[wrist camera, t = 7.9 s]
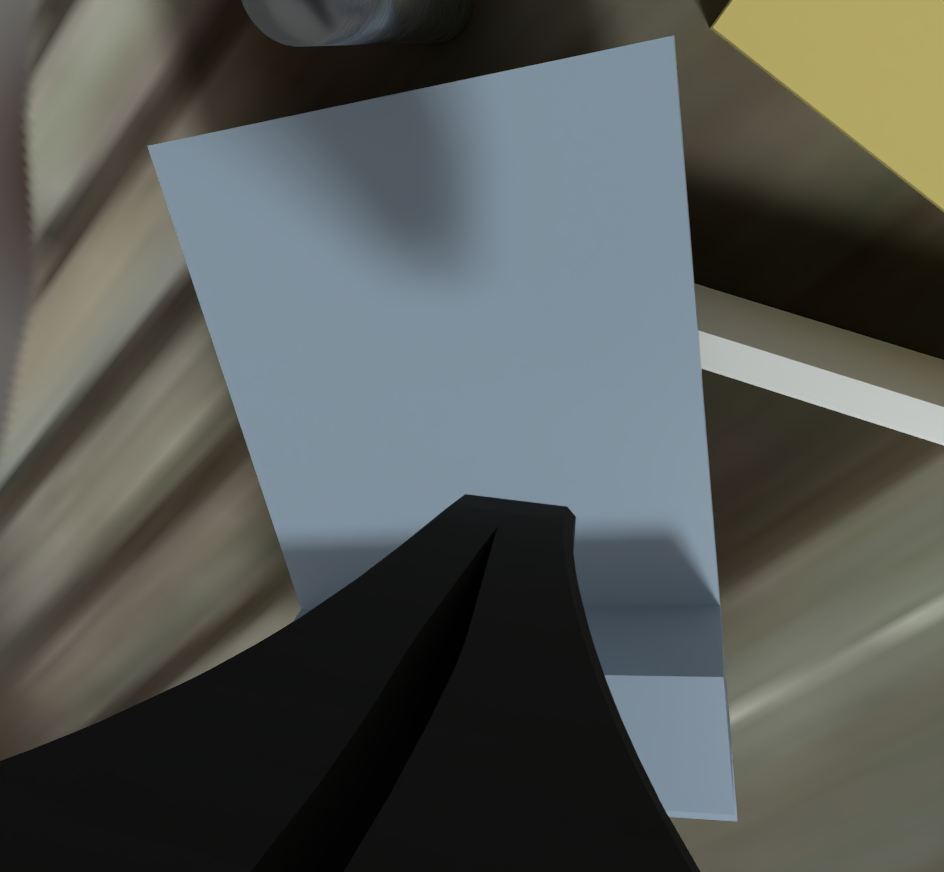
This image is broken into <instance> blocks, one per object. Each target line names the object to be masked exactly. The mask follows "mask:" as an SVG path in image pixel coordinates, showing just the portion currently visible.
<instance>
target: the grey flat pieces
mask: <svg viewBox="0 0 944 872" xmlns="http://www.w3.org/2000/svg"><path fill="white" fill-rule="evenodd" d="M695 296H696V308H697V321H698V333H699V345H700V358H701V368H702V369H705V370H708V371H711V372H714V373H717V374H721V375H724V376H727V377H730V378H733V379H736V380H739V381H743V382H746V383H749V384H752V385H755V386H758V387H762V388H765V389H768V390H771V391H774V392H777V393H780V394H784V395H787V396H790V397H793V398H796V399H799V400H803V401H806V402H809V403H812V404H815V405H818V406H821V407H825V408H828V409H831V410H834V411H837V412H840V413H843V414H847V415H850V416H853V417H856V418H859V419H862V420H866V421H869V422H872V423H875V424H878V425H881V426H884V427H888V428H891V429H894V430H897V431H900V432H903V433H907V434H910V435H913V436H916V437H919V438H922V439H925V440H929V441H932V442H935V443H938V444H941V445H944V360H942V359H939V358H936V357H933V356H929V355H926V354H923V353H919V352H916V351H913V350H910V349H906V348H903V347H900V346H897V345H893V344H890V343H887V342H884V341H880V340H877V339H874V338H871V337H867V336H864V335H861V334H858V333H854V332H851V331H848V330H845V329H841V328H838V327H835V326H831V325H828V324H825V323H822V322H818V321H815V320H812V319H809V318H805V317H802V316H799V315H796V314H792V313H789V312H786V311H783V310H779V309H776V308H773V307H770V306H766V305H763V304H760V303H757V302H753V301H750V300H747V299H744V298H740V297H737V296H734V295H730V294H727V293H724V292H721V291H717V290H714V289H711V288H708V287H704V286H701V285H698V284H695Z"/></svg>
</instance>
